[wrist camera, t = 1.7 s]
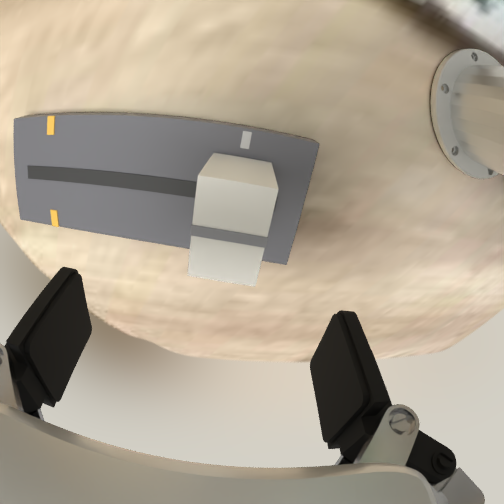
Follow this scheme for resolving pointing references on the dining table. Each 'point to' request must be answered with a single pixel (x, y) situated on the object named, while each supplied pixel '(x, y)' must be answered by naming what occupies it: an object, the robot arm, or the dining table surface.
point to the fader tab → (231, 218)
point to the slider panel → (146, 173)
